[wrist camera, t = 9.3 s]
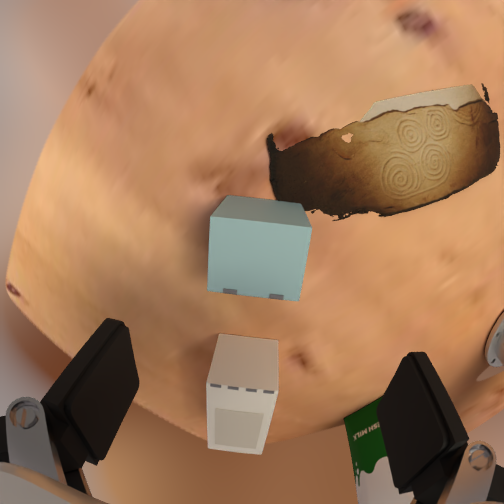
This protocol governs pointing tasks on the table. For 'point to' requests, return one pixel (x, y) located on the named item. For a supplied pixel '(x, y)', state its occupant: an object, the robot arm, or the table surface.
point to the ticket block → (241, 393)
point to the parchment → (392, 155)
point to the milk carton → (371, 459)
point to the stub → (258, 248)
